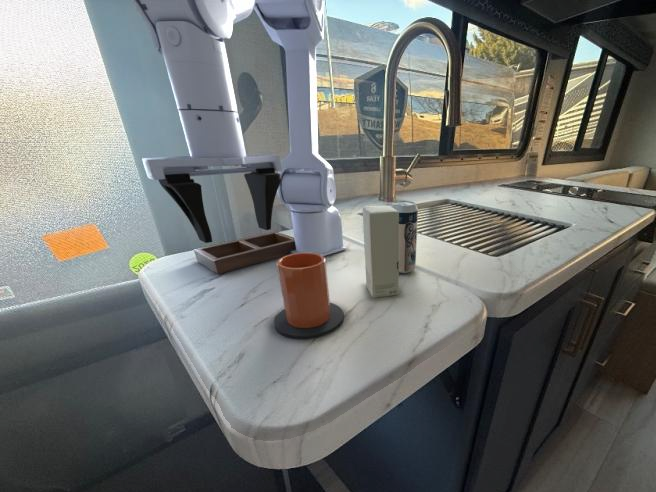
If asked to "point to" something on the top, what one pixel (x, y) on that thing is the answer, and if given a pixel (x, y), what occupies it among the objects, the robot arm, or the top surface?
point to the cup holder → (245, 251)
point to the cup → (304, 289)
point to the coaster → (313, 332)
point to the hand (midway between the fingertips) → (237, 234)
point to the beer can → (407, 234)
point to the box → (381, 250)
